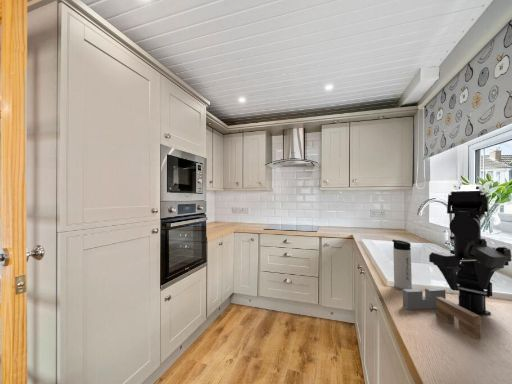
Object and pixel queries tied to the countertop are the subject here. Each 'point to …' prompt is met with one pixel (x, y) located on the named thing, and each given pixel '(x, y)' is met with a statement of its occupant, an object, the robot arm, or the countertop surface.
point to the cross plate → (459, 317)
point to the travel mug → (402, 265)
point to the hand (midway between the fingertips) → (468, 289)
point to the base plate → (421, 298)
